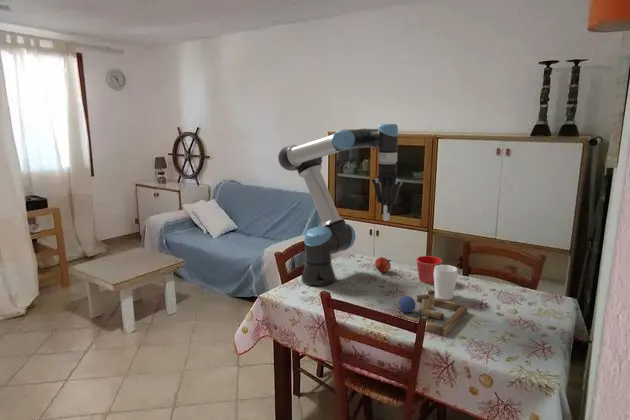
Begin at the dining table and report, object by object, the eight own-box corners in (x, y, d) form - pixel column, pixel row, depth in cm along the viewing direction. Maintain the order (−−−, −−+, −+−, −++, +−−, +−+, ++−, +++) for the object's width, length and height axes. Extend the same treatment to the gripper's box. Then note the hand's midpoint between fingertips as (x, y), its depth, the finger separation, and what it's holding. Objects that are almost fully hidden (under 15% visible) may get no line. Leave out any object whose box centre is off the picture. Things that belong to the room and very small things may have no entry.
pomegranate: (373, 278, 195) (389, 269, 189) (366, 263, 198) (381, 254, 192) (382, 275, 201) (397, 266, 195) (375, 261, 203) (390, 252, 197)
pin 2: (425, 313, 154) (426, 291, 152) (428, 311, 155) (429, 289, 154) (432, 315, 152) (433, 293, 150) (434, 312, 154) (435, 290, 152)
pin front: (418, 308, 152) (441, 315, 147) (421, 306, 154) (444, 312, 149) (418, 314, 153) (441, 321, 148) (421, 312, 155) (444, 318, 149)
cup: (457, 302, 163) (459, 272, 161) (433, 300, 165) (434, 271, 162) (454, 292, 172) (456, 265, 169) (431, 291, 173) (433, 263, 171)
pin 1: (420, 318, 150) (421, 296, 148) (423, 316, 152) (424, 293, 150) (426, 320, 148) (427, 297, 146) (429, 317, 150) (430, 295, 148)
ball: (413, 315, 151) (399, 315, 155) (420, 306, 155) (407, 306, 159) (407, 301, 150) (393, 301, 154) (414, 292, 154) (401, 293, 158)
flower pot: (445, 284, 181) (446, 262, 179) (421, 285, 179) (422, 264, 177) (434, 275, 191) (435, 255, 189) (412, 277, 190) (412, 256, 188)
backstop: (393, 320, 148) (393, 314, 148) (418, 299, 165) (418, 293, 165) (445, 336, 137) (446, 329, 136) (467, 312, 154) (467, 306, 154)
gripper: (368, 163, 169) (368, 219, 173) (398, 164, 161) (396, 224, 166) (377, 161, 174) (376, 216, 179) (406, 163, 167) (404, 220, 172)
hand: (386, 220), depth 173 cm, fingers closed
